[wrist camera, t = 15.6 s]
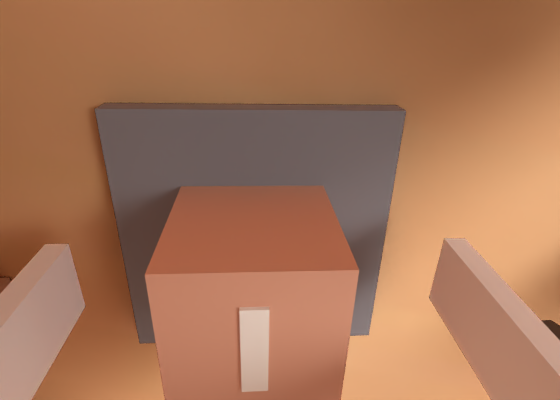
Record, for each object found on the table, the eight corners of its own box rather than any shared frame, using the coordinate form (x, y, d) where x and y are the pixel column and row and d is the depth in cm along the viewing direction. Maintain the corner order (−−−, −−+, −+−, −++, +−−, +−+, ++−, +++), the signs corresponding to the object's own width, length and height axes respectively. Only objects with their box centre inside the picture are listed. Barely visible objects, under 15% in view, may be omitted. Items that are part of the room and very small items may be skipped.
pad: (396, 105, 15) (406, 110, 14) (363, 320, 19) (368, 335, 19) (104, 102, 14) (94, 108, 13) (144, 327, 19) (139, 343, 18)
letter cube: (323, 185, 15) (360, 272, 10) (314, 295, 17) (340, 411, 12) (181, 186, 14) (143, 277, 9) (192, 298, 17) (166, 420, 12)
